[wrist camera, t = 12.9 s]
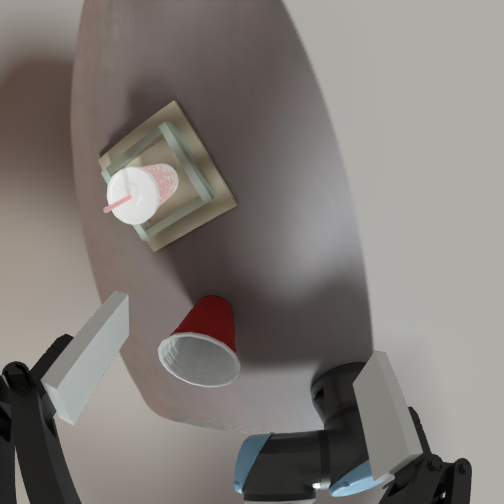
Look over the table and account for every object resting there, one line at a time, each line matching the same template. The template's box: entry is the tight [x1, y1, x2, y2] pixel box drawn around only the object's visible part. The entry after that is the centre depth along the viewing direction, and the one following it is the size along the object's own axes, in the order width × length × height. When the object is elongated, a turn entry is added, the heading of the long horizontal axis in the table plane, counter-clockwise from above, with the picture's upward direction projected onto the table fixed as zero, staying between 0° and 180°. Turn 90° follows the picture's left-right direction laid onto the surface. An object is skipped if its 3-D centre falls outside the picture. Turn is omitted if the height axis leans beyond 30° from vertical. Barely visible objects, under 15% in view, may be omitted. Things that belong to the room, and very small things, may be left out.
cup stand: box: [98, 101, 238, 252], centre depth 33 cm, size 16×14×4 cm
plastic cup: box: [158, 295, 241, 387], centre depth 38 cm, size 11×11×12 cm
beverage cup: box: [103, 164, 179, 225], centre depth 28 cm, size 6×6×14 cm
